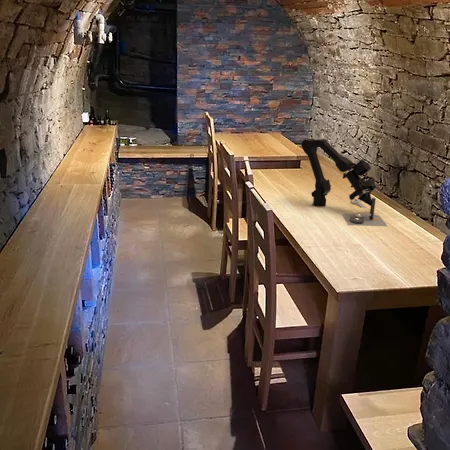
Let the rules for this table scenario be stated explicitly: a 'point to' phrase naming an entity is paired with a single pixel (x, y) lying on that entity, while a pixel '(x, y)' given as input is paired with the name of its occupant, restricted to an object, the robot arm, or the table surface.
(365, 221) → the level stand
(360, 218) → the crank handle
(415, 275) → the table surface
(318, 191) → the robot arm
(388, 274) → the table surface
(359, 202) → the adjustable wrench
